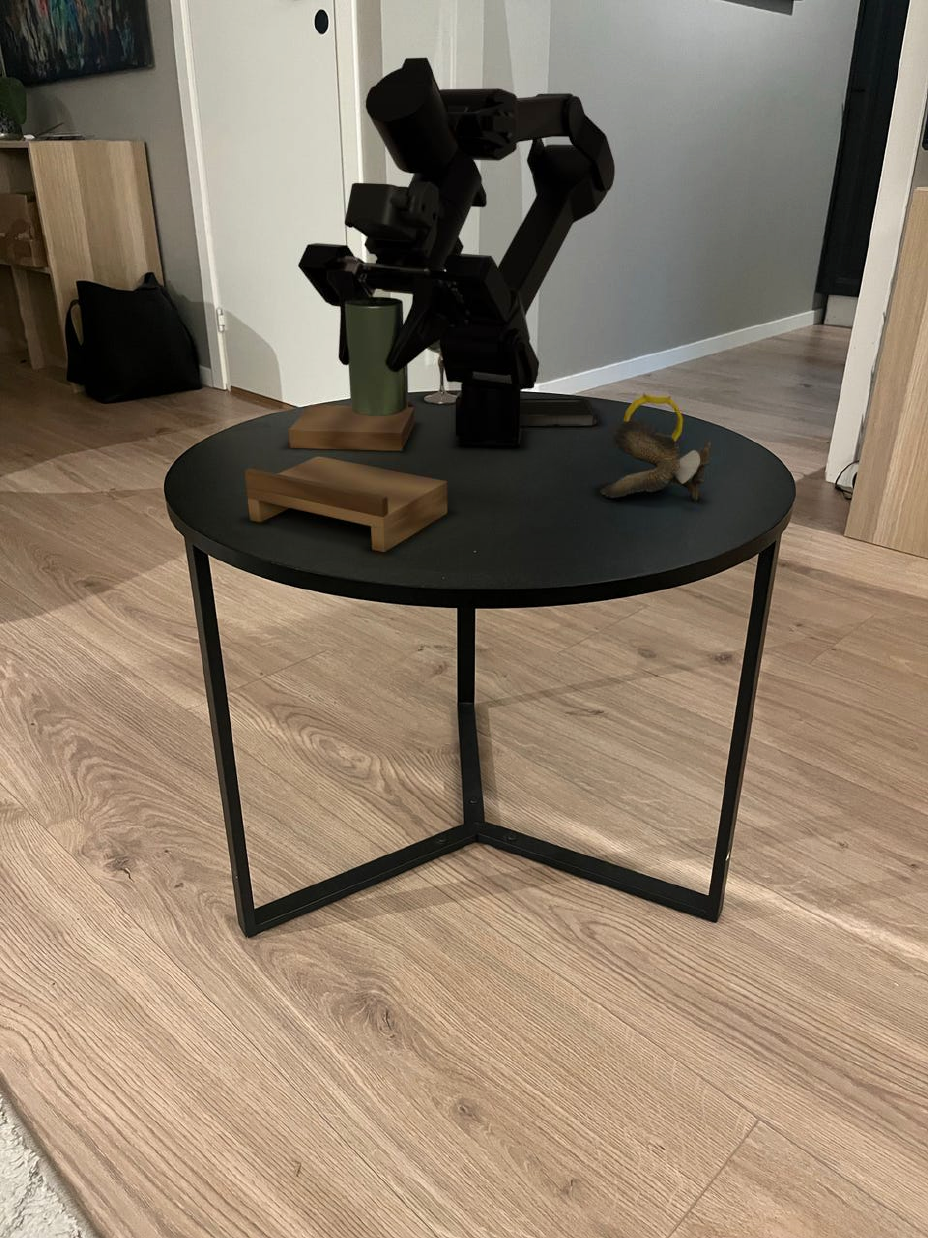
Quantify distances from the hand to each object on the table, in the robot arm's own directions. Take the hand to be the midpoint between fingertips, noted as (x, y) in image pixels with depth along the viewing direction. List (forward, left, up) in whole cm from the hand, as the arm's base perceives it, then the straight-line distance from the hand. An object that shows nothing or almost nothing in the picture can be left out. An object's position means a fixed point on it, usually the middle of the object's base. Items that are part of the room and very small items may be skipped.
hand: (367, 365), depth 80 cm
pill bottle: (+4, -33, -13) cm, 35 cm away
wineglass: (-2, -37, -13) cm, 39 cm away
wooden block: (+6, -21, -12) cm, 25 cm away
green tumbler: (-1, -1, -4) cm, 4 cm away
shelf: (+2, +3, -12) cm, 13 cm away
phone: (-13, -30, -12) cm, 35 cm away
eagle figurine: (-25, -5, -13) cm, 29 cm away
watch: (-26, -19, -13) cm, 35 cm away
